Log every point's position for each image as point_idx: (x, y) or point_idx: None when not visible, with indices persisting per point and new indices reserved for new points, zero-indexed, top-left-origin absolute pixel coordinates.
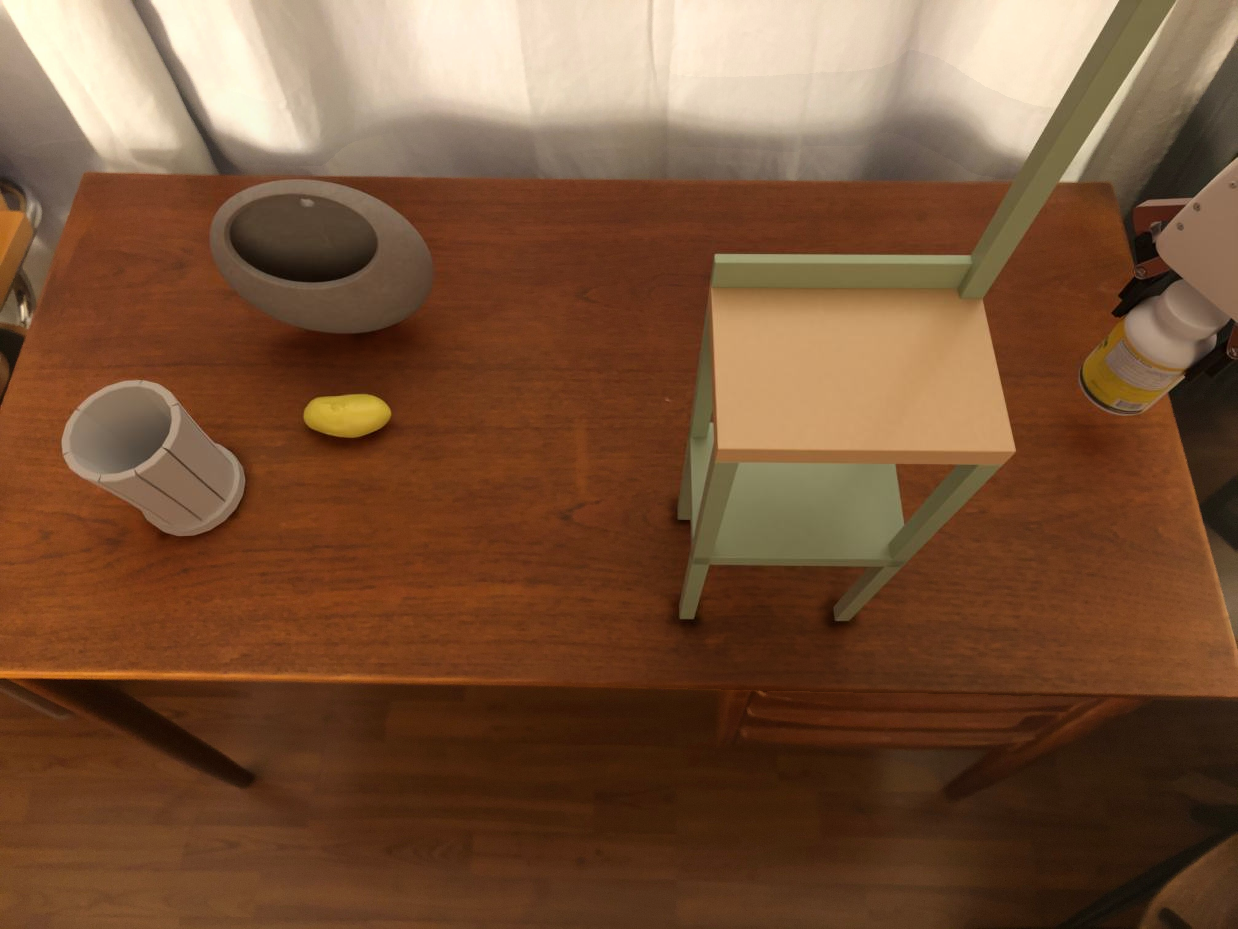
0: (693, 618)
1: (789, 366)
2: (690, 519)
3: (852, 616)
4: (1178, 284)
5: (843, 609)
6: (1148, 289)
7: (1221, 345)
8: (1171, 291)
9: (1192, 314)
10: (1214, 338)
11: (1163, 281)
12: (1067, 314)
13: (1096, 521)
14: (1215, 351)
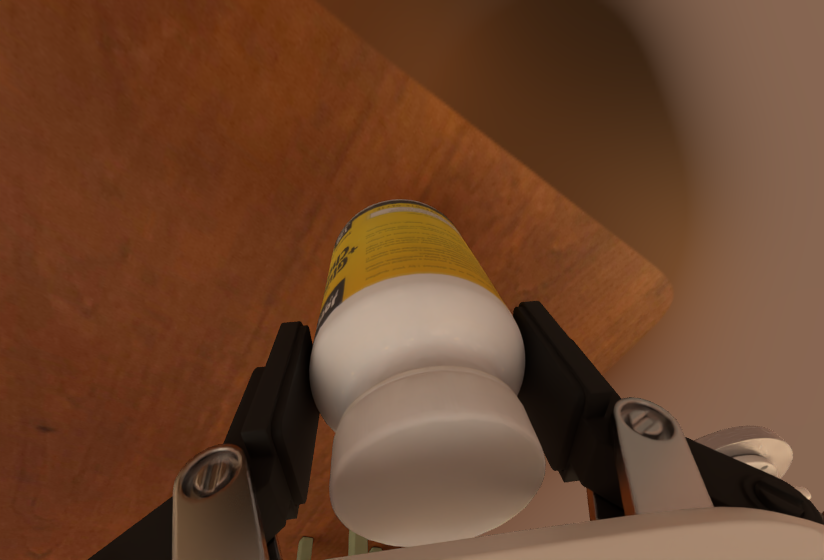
0: (381, 550)
1: None
2: (312, 539)
3: None
4: (346, 501)
5: None
6: (303, 462)
7: (564, 459)
8: (359, 525)
9: (458, 518)
10: (512, 353)
11: (289, 393)
12: (207, 98)
13: (502, 299)
14: (562, 476)
